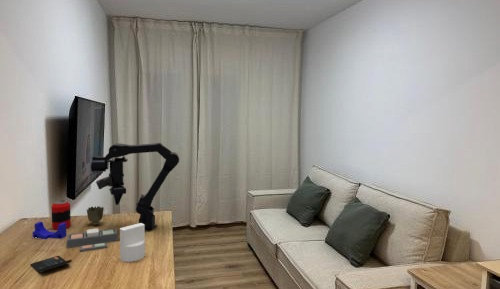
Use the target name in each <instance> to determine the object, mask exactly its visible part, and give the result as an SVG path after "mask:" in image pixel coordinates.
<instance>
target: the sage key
mask: <svg viewBox="0 0 500 289" xmlns="http://www.w3.org/2000/svg"><path fill="white" fill-rule="evenodd" d="M106 230H107V229H106ZM107 234H114V231H113V230H107V231H102V235H107Z"/></svg>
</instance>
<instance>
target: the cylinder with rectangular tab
mask: <svg viewBox="0 0 500 289" xmlns="http://www.w3.org/2000/svg"><path fill="white" fill-rule="evenodd" d="M145 233H146V232H145V225H144V224H142V223H139V222H138V223H135V224H132V225H127V226H124V227H120V228H119V259H120V261H121V262H125V263H134V262H133V261H135V262H138V261H137V260H139V261H141V260H142V258H143V257H144V256H145V257H146V239H145V235H146V234H145ZM145 257H144V258H145ZM144 258H143V259H144ZM140 259H141V260H140Z"/></svg>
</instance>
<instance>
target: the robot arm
mask: <svg viewBox="0 0 500 289" xmlns="http://www.w3.org/2000/svg"><path fill="white" fill-rule="evenodd" d="M147 153H158V155H160V157H162V158H163V159H165V161H164V162H163V164H162V167H161V170H160V171H159V173H158V174H157V176H156V178H155V180H154V181H153V182H152V184H151V185H150V187H149V189H148V191H147V192H146V193H145V194H143V193H142V194H140V197H139V199H138V200H137V201H136V203H135V211H136V212H137V214H139V219H138V224H139V223H142V224H144V225H145V231H147V232H151V231H152V230H154V229H156V228H157V227H158V226H157V225H156V215H155V214H154V213H155V208H154V207H153V206H152V202H153V200H154V198H155V196H156V194H157V193H158V191H159V190H160V188H161V186H162V185H163V184H164V182H165V180H166V178H167V177H168V175H169V174H170V173H171V172H172V171H173V170H174V168H176V166H177V165H178V164H179V162H180V157H179V155H178V153H177V152H175V151H174V152H173V151H171V150H170V149H169V148H167V146H164V145H163V143H161V142H156V143H141V144H126V143H118V142H116V143H113V144H112V145H111V146H110V147H109V148H108V153H106V155H105V156H92V159H91V164H90V169H91V172H92V173H93V172H95V173H96V172H97V173H98V172H103V173H104V172H106V171H107V170H109V173H108V176H106V177H103V178H100V179H98V180H96V182H95V184H96V185H97V186H96V187H97V188H98V190H102V189H103V188H106V187H110V188H109V192H110V195H112V196H113V199H114V204H115V205H116V206H118V205H119V204H120V202H121V200H122V197H123V195H124V194H125V195H126V194H127V188H126V187H125V182H124V177H125V174H124V163H127V162H128V161H129V160H128V158H126V157H125V156H128V155H131V154H147ZM113 158H114V159H113ZM156 226H157V227H156Z"/></svg>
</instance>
